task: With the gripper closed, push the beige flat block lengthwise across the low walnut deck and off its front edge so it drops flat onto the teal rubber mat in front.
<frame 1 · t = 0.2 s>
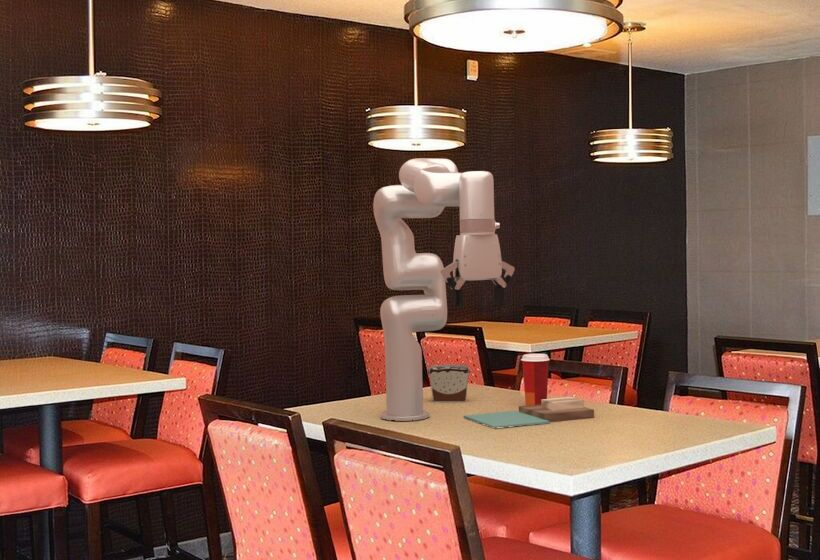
hand: (478, 306, 227), 31 cm above the table, fingers open, 9 cm apart
beige flat block: (562, 403, 267), point 3 cm above the table, touching deck
deck: (556, 415, 267), on the table
mat: (505, 420, 261), on the table
food container: (450, 401, 296), on the table
paper cup: (536, 406, 283), on the table
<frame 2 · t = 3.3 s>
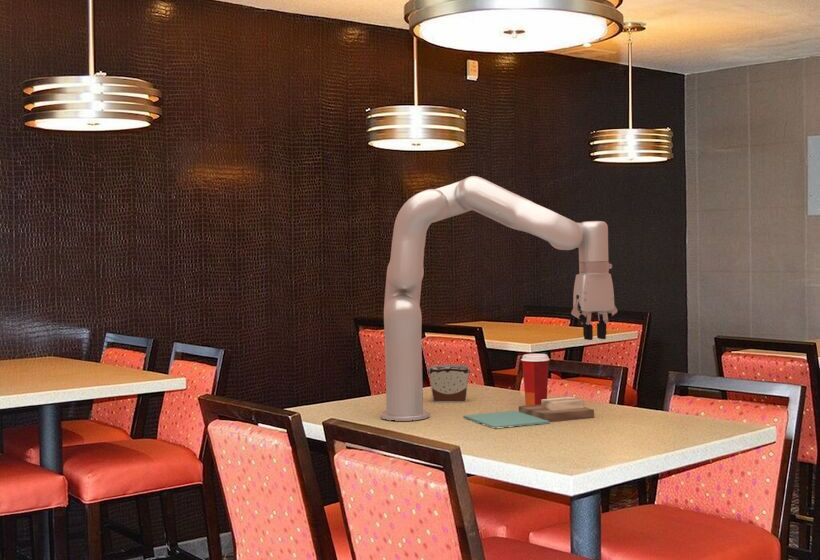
hand: (595, 338, 270), 19 cm above the table, fingers open, 3 cm apart
nothing on the table moved.
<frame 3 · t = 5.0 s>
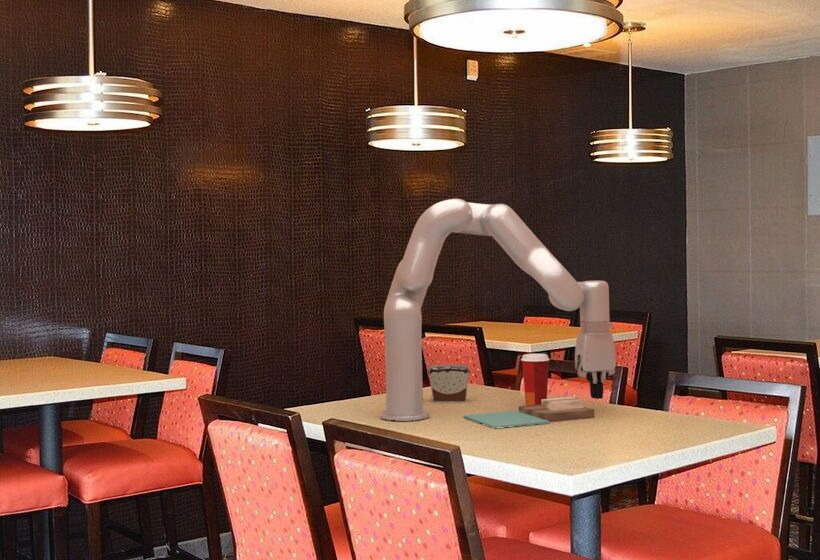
hand: (596, 397, 271), 4 cm above the table, fingers closed
nothing on the table moved.
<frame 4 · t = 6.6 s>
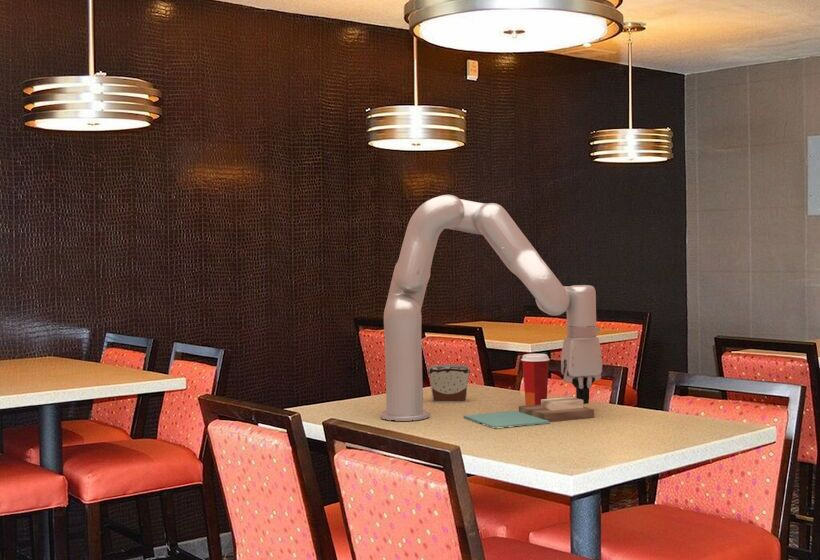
hand: (582, 403, 270), 3 cm above the table, fingers closed
beige flat block: (562, 403, 267), point 3 cm above the table, touching gripper
everything else where it was.
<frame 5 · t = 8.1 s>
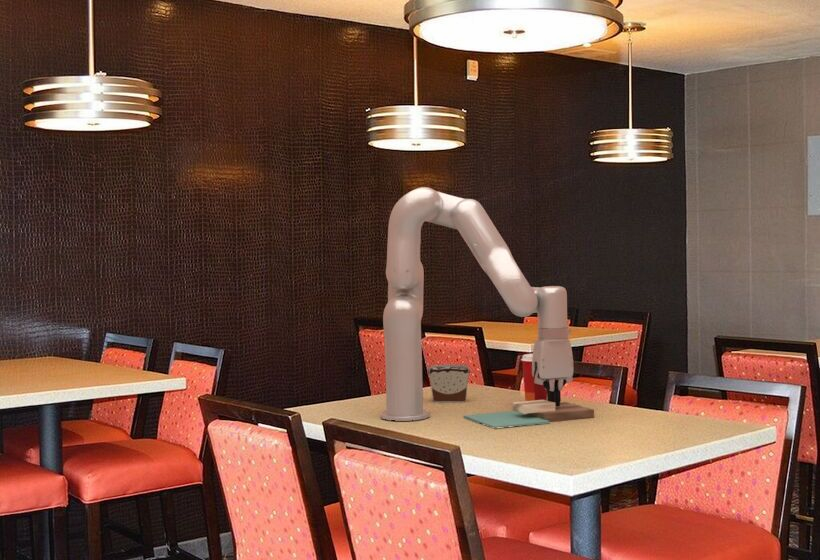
hand: (554, 405, 266), 3 cm above the table, fingers closed
beige flat block: (533, 406, 264), point 3 cm above the table, touching deck, gripper
everything else where it was.
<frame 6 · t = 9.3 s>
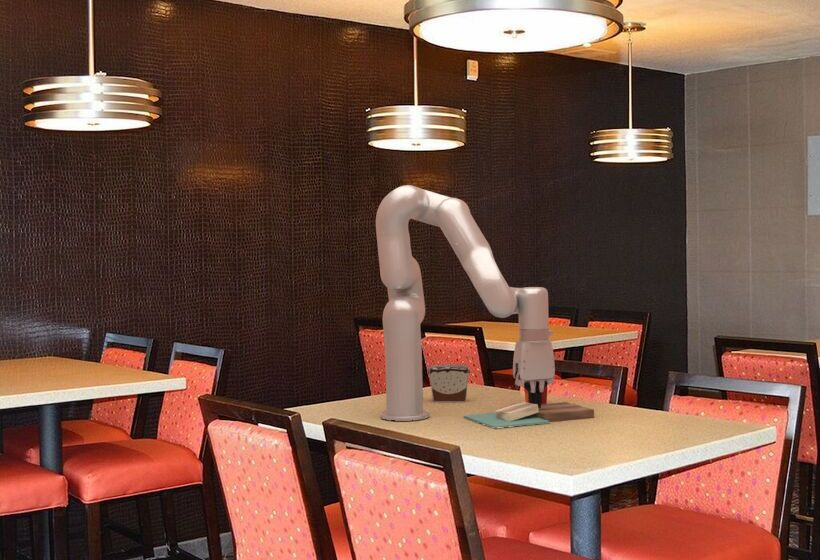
hand: (535, 407, 264), 3 cm above the table, fingers closed
beige flat block: (516, 411, 261), point 2 cm above the table, tilted 9°, touching gripper, mat
everything else where it was.
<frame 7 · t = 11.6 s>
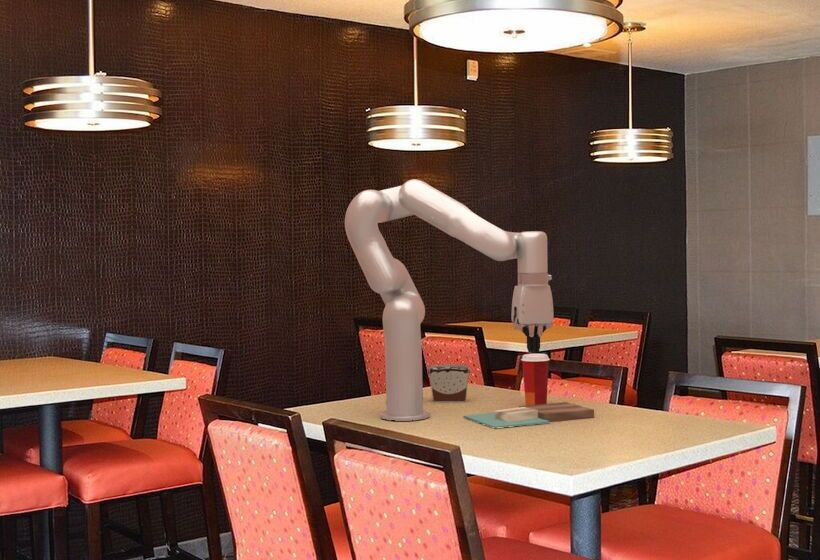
hand: (533, 352, 264), 17 cm above the table, fingers closed
beige flat block: (516, 414, 261), point 2 cm above the table, touching mat
everything else where it was.
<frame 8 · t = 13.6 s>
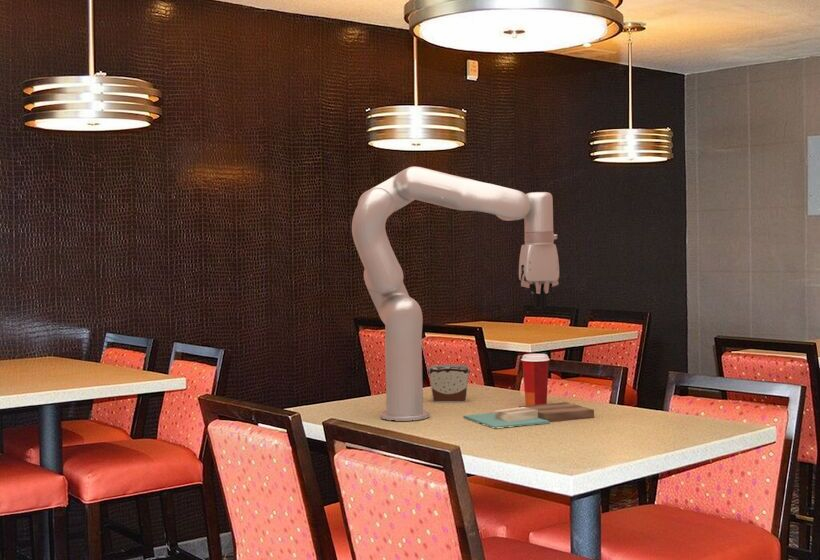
hand: (540, 308, 274), 27 cm above the table, fingers closed
nothing on the table moved.
at the end: beige flat block point 1.6 cm above the table; beige flat block inside the target area (3.6 cm from its centre), point 1.6 cm above the table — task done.
